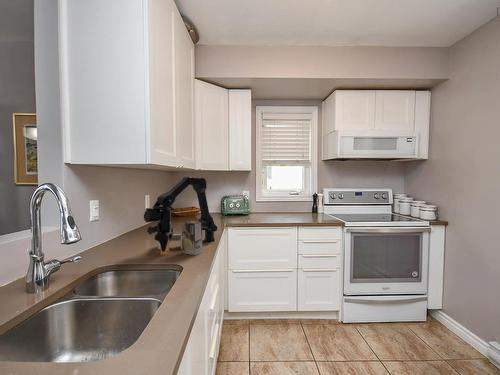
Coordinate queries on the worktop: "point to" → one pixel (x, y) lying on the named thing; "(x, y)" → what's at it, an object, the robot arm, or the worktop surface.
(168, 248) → the orange u-channel
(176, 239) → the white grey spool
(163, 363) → the worktop surface
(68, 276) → the worktop surface
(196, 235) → the coffee box
